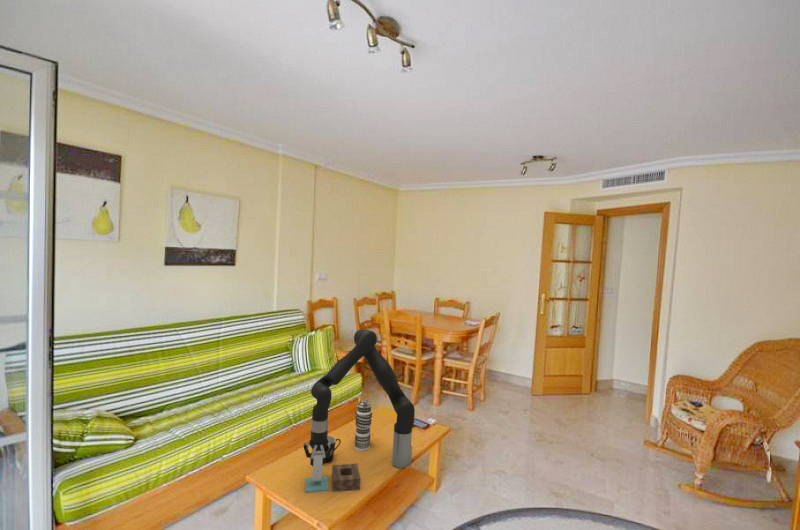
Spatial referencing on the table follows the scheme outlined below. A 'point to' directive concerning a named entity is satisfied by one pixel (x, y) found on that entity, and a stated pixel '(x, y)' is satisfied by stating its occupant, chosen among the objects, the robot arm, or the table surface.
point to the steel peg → (317, 466)
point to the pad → (316, 484)
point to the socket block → (345, 477)
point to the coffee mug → (330, 438)
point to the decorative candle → (363, 425)
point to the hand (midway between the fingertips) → (317, 464)
